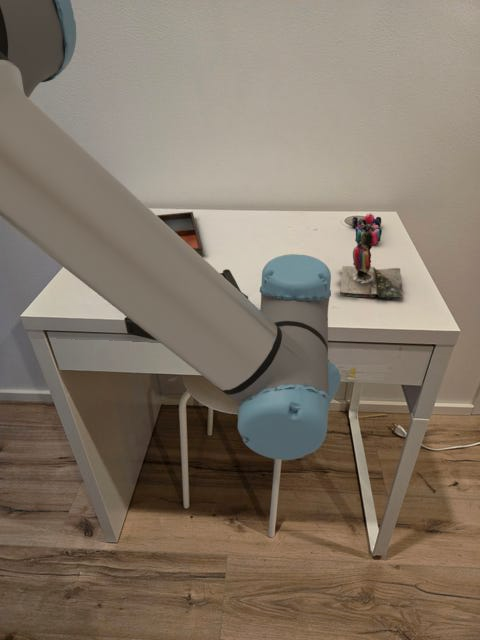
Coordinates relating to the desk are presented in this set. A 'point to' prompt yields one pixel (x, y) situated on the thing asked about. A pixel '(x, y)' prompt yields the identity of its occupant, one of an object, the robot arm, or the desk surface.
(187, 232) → the sorting tray
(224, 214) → the desk surface
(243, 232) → the desk surface
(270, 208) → the desk surface
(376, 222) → the toy car
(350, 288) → the statue
